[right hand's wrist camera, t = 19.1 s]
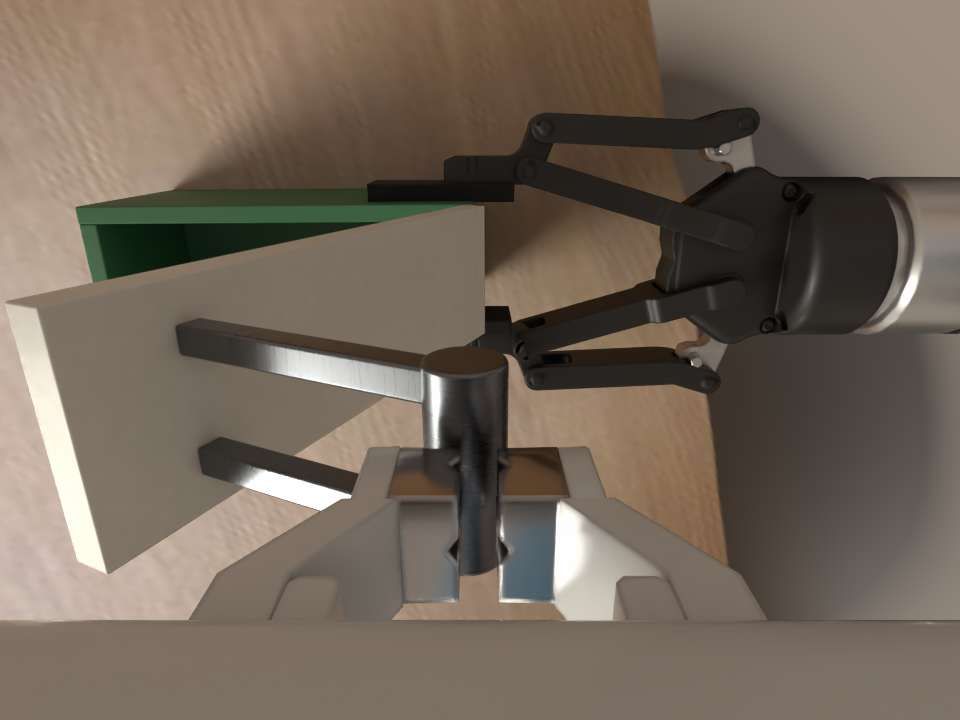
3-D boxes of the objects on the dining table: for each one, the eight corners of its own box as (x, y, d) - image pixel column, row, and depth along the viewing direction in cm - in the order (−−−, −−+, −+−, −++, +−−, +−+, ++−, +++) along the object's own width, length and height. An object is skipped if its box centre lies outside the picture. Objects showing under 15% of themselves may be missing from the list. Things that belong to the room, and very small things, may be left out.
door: (76, 562, 13) (427, 718, 9) (2, 301, 11) (411, 375, 7) (465, 330, 28) (653, 356, 24) (463, 204, 26) (667, 214, 22)
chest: (188, 287, 36) (103, 331, 28) (170, 190, 34) (74, 207, 26) (474, 284, 36) (475, 328, 28) (473, 187, 34) (473, 203, 26)
